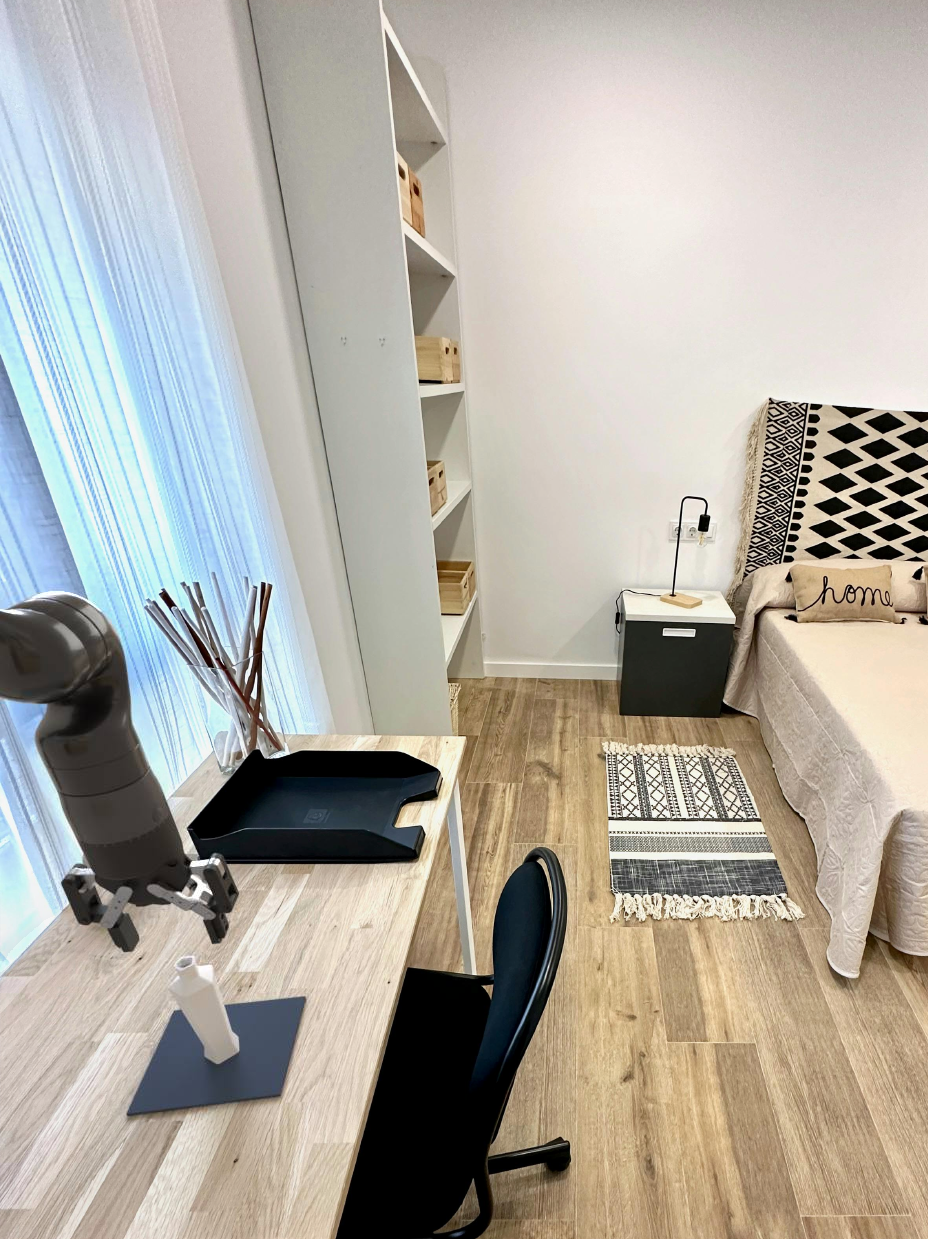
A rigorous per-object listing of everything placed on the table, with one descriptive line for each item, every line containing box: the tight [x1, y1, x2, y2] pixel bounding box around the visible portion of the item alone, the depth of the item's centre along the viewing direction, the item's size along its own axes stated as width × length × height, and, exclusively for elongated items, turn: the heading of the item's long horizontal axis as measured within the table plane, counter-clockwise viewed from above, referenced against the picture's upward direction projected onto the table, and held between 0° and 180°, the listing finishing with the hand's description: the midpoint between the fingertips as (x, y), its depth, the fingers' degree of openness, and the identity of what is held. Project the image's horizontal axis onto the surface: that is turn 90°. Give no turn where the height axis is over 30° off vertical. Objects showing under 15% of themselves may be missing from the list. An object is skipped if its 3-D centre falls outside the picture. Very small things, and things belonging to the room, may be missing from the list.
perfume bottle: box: [167, 955, 239, 1064], centre depth 74 cm, size 5×4×15 cm
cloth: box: [125, 995, 307, 1117], centre depth 79 cm, size 16×14×1 cm
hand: (176, 942), depth 69 cm, fingers open, 8 cm apart
